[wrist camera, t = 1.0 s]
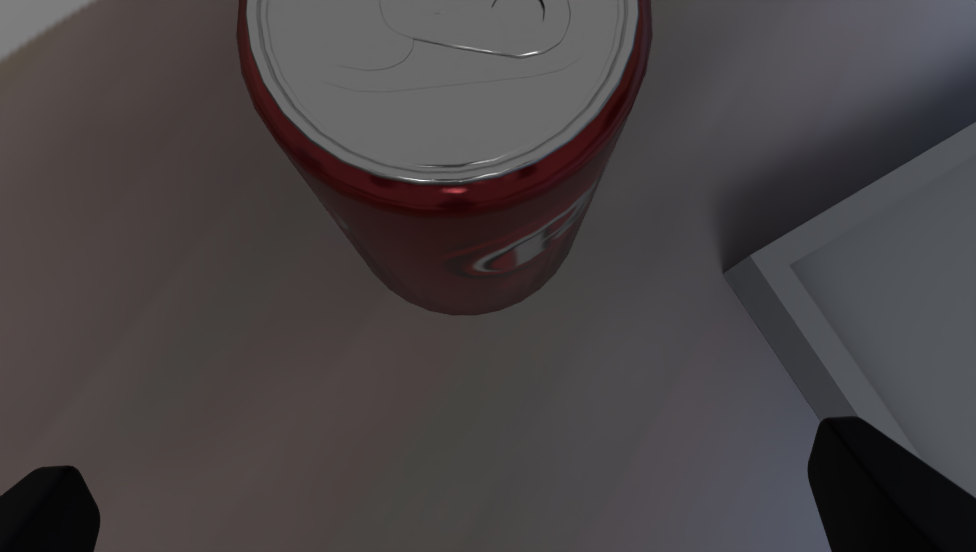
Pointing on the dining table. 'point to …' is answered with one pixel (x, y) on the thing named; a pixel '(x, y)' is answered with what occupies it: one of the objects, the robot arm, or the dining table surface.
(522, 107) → the soda can
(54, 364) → the dining table surface
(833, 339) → the tray
